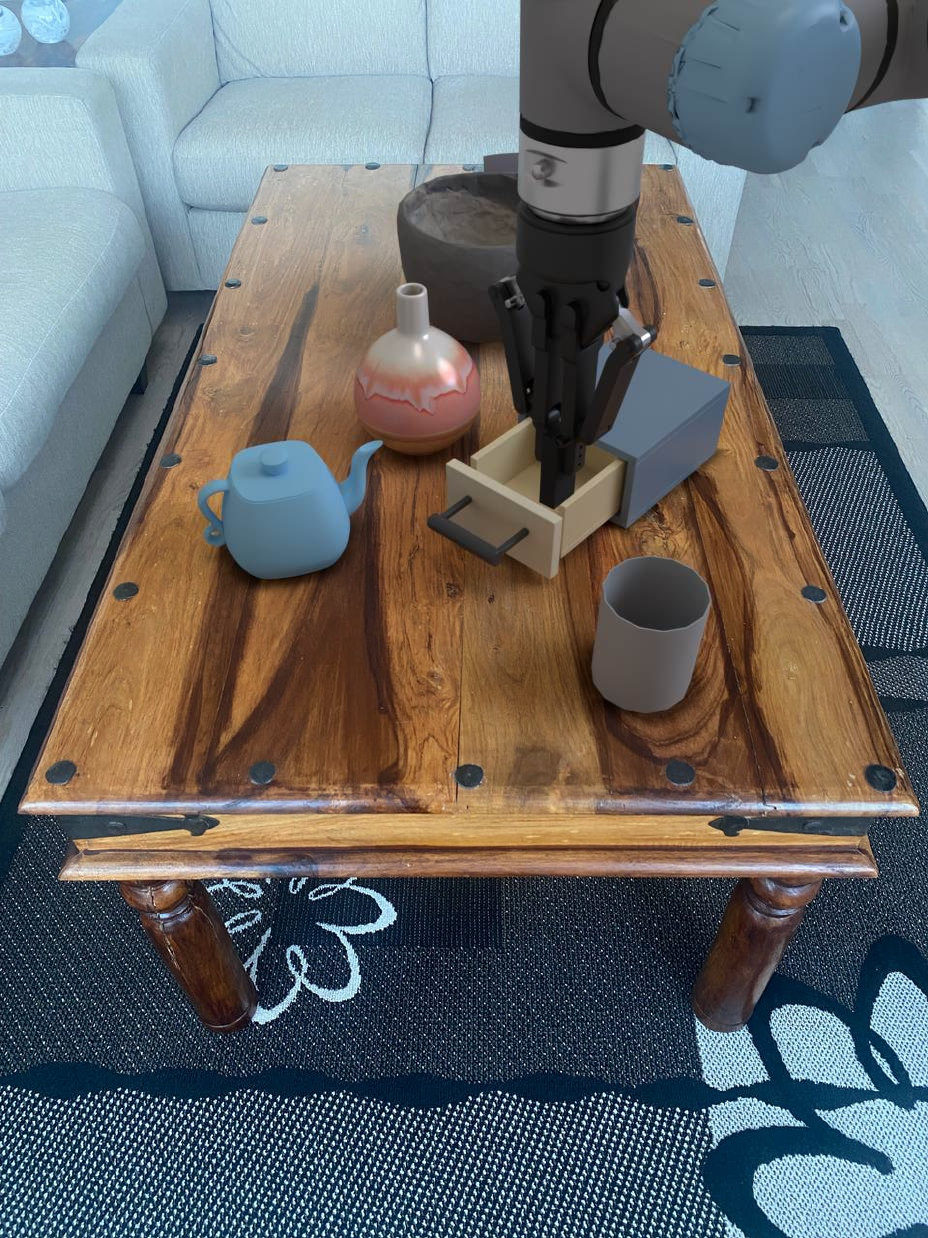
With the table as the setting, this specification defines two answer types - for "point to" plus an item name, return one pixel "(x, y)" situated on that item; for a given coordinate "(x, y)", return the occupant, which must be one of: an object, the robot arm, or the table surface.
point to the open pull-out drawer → (525, 503)
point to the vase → (416, 382)
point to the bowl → (461, 248)
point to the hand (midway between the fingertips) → (556, 497)
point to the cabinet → (662, 428)
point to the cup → (649, 632)
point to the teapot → (285, 508)
